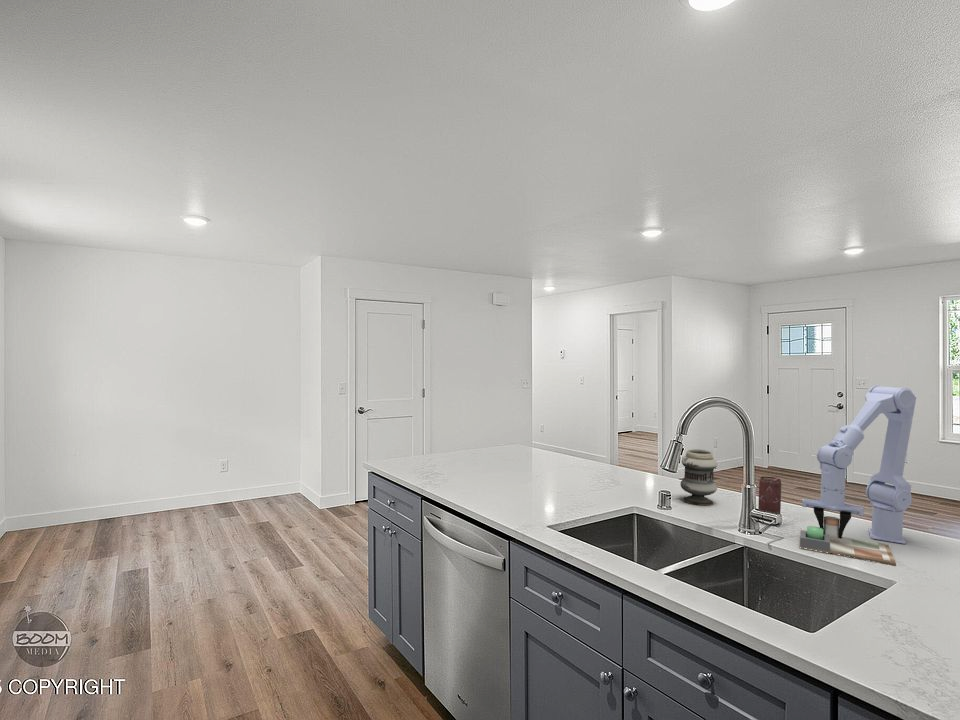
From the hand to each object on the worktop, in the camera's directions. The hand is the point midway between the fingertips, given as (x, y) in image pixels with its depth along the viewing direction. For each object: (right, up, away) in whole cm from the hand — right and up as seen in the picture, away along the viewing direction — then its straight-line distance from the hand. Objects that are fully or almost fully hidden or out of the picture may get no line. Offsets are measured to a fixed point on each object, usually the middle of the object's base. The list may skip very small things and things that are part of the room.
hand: (831, 536), depth 154 cm
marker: (0, -1, 0) cm, 1 cm away
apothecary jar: (-22, -1, +39) cm, 45 cm away
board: (+1, -2, -5) cm, 5 cm away
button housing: (-8, -2, -5) cm, 9 cm away
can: (-9, -1, +16) cm, 19 cm away
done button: (-8, +1, -5) cm, 9 cm away
